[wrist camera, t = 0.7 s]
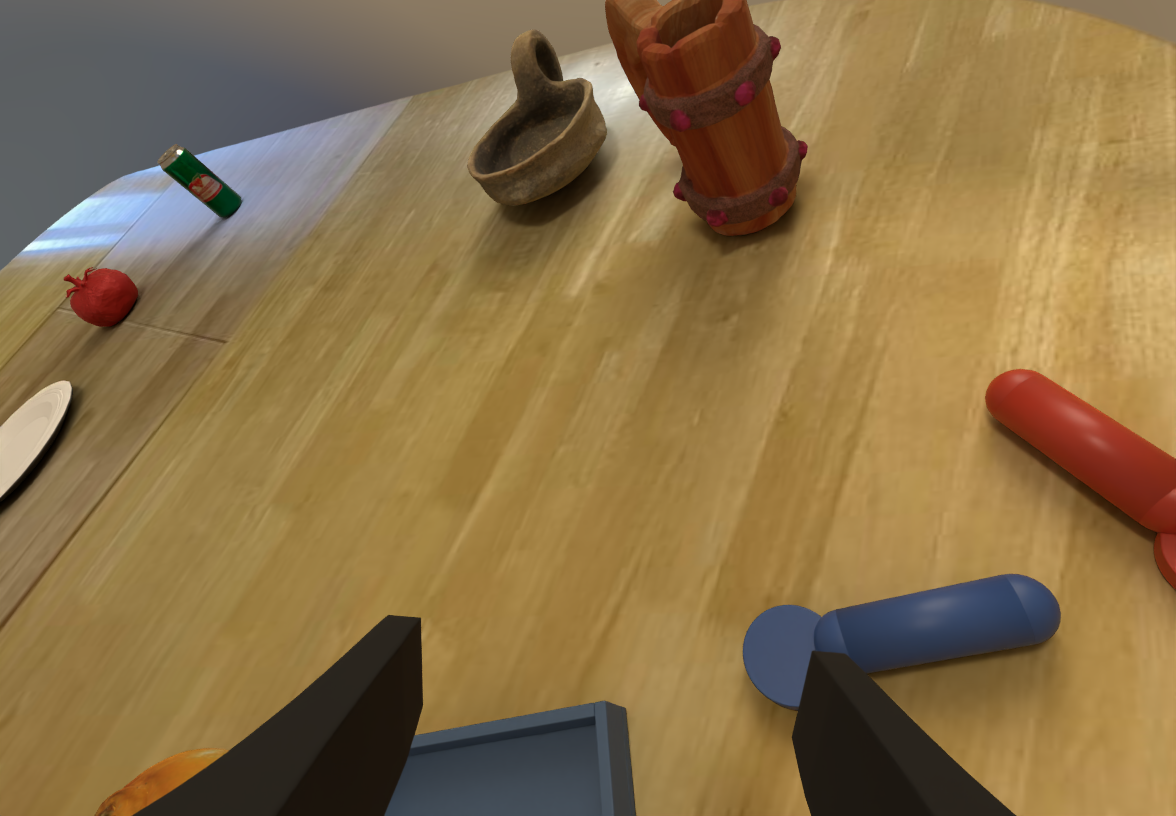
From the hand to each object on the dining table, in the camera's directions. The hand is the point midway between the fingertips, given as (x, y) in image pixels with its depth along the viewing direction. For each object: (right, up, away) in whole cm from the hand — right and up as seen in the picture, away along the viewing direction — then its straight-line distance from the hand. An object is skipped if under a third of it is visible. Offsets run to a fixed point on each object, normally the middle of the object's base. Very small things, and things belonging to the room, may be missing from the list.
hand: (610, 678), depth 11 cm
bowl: (-3, +29, +49) cm, 57 cm away
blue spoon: (+12, -5, +15) cm, 20 cm away
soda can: (-63, +40, +95) cm, 121 cm away
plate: (-85, -2, +79) cm, 117 cm away
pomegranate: (-81, +22, +93) cm, 126 cm away
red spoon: (+22, +1, +13) cm, 25 cm away
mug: (+11, +21, +34) cm, 42 cm away
